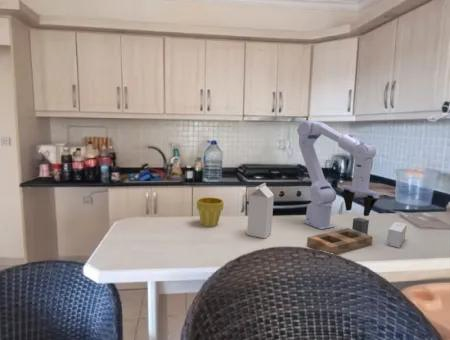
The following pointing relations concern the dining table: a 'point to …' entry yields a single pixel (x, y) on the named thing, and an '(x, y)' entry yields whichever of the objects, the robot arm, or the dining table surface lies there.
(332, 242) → the brown flat rectangular frame
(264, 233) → the milk carton
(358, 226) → the plug
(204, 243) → the dining table surface
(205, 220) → the plant pot
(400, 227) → the skincare box
